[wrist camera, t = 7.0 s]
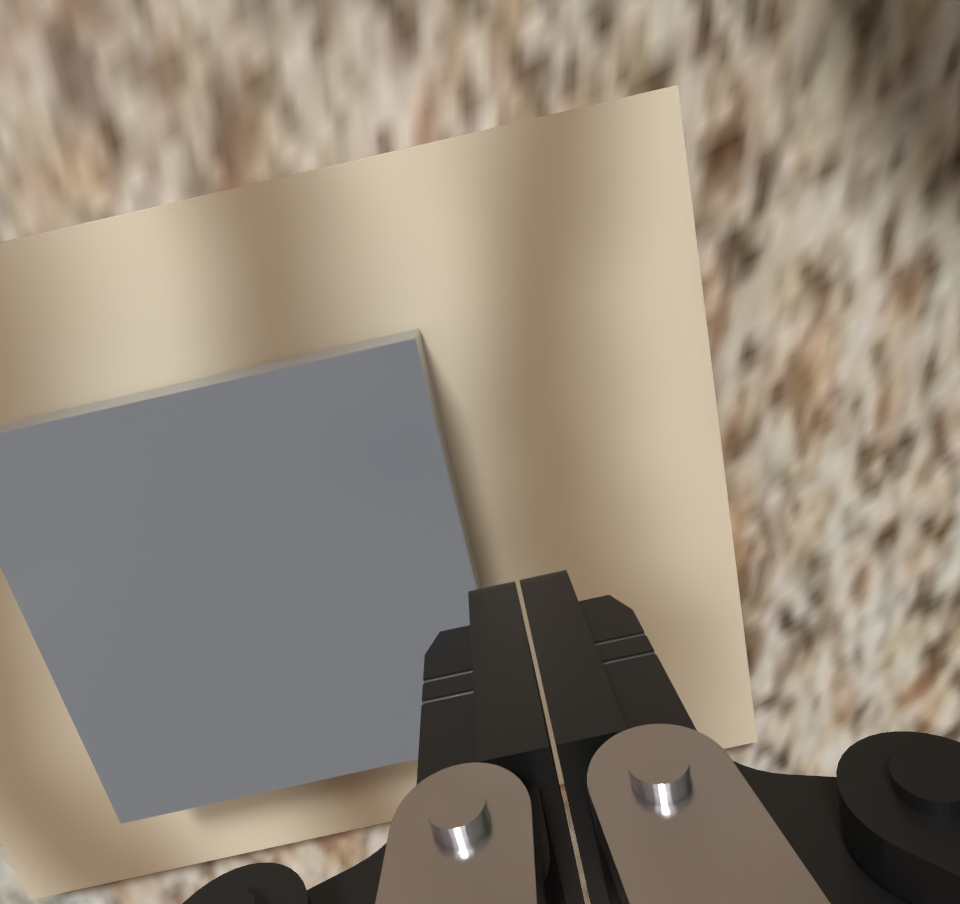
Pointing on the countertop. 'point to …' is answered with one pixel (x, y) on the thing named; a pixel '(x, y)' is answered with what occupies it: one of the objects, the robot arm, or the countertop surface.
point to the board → (462, 404)
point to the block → (241, 571)
